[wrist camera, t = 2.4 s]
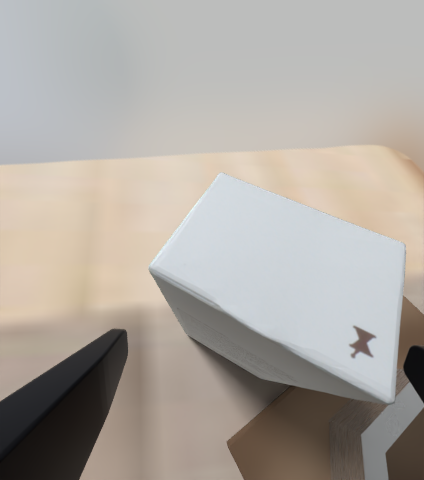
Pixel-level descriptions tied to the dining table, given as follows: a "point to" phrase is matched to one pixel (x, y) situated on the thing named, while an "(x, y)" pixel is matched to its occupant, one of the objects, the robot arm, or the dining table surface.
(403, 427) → the steel ring
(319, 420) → the walnut board
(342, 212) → the dining table surface
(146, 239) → the dining table surface
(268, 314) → the skincare box
